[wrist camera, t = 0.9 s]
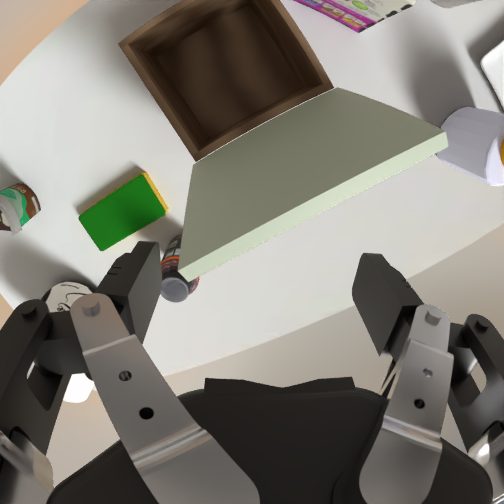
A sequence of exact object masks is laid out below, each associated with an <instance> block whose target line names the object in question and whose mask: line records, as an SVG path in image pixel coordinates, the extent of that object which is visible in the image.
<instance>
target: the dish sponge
mask: <svg viewBox="0 0 504 504" xmlns="http://www.w3.org/2000/svg"><path fill="white" fill-rule="evenodd" d="M167 211H168V206H167V205H166V203H165V202H164V200H163V198H162V197H161V195H160V194H159V192H158V190H157V189H156V187H155V185H154V184H153V182H152V180H151V179H150V177H149V175H148V174H147V172H142V173H141V174H139V175H137V176H136V177H134V178H133V179H131V180H130V181H128V182H127V183H125V184H124V185H122V186H121V187H119V188H118V189H116V190H115V191H113V192H112V193H110V194H109V195H107V196H106V197H104V198H103V199H102V200H100V201H99V202H97V203H96V204H95V205H93V206H92V207H90V208H89V209H88V210H86V211H85V212H84V213H82V214H81V215H80V216H79V221H80V222H81V224H82V225H83V227H84V228H85V230H86V231H87V233H88V234H89V235H90V237H91V238H92V240H93V241H94V243H95V244H96V246H97V247H98V248H99V250H100V251H104V250H106V249H107V248H109V247H111V246H112V245H114V244H116V243H117V242H119V241H121V240H122V239H124V238H126V237H127V236H129V235H131V234H133V233H134V232H136V231H138V230H139V229H141V228H143V227H145V226H146V225H148V224H150V223H152V222H154V221H155V220H157V219H159V218H161V217H162V216H164V215H165V214H166V213H167Z"/></svg>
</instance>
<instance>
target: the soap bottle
mask: <svg viewBox="0 0 504 504" xmlns="http://www.w3.org/2000/svg"><path fill="white" fill-rule="evenodd" d="M440 129H442V130H444V131H446V136H447V141H448V146H449V147H447V148H445V149H443V150H441V151H439V152H437V153H436V154H437V157H438V158H439V159H440V160H441V161H442V162H443V163H445V164H447V165H449V166H451V167H453V168H456V169H458V170H460V171H462V172H464V173H466V174H468V175H470V176H473V177H475V178H477V179H479V180H481V181H483V182H484V183H486V184H488V185H491V186H501V185H504V114H503V113H498V112H493V111H488V110H483V109H478V108H472V107H465V108H461V109H458V110H457V111H455V112H454V113H452V114H451V115H450V116H449V117H448V118H447V119H446V120H445V122H444V123H443V124H442V126H441V128H440Z"/></svg>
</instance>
